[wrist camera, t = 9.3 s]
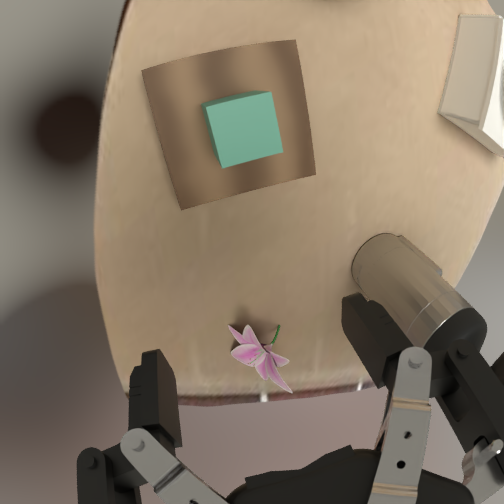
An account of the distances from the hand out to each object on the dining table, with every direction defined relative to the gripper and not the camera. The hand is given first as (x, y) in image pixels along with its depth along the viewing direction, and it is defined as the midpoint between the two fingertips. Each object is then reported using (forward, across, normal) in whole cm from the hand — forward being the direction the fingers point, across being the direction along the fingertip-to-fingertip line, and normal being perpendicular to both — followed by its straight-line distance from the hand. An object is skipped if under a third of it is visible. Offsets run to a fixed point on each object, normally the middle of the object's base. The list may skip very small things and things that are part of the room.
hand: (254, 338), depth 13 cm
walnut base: (+23, -4, -6) cm, 24 cm away
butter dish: (+24, -43, -7) cm, 50 cm away
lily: (+23, -1, +24) cm, 34 cm away
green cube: (+19, -4, -6) cm, 20 cm away
